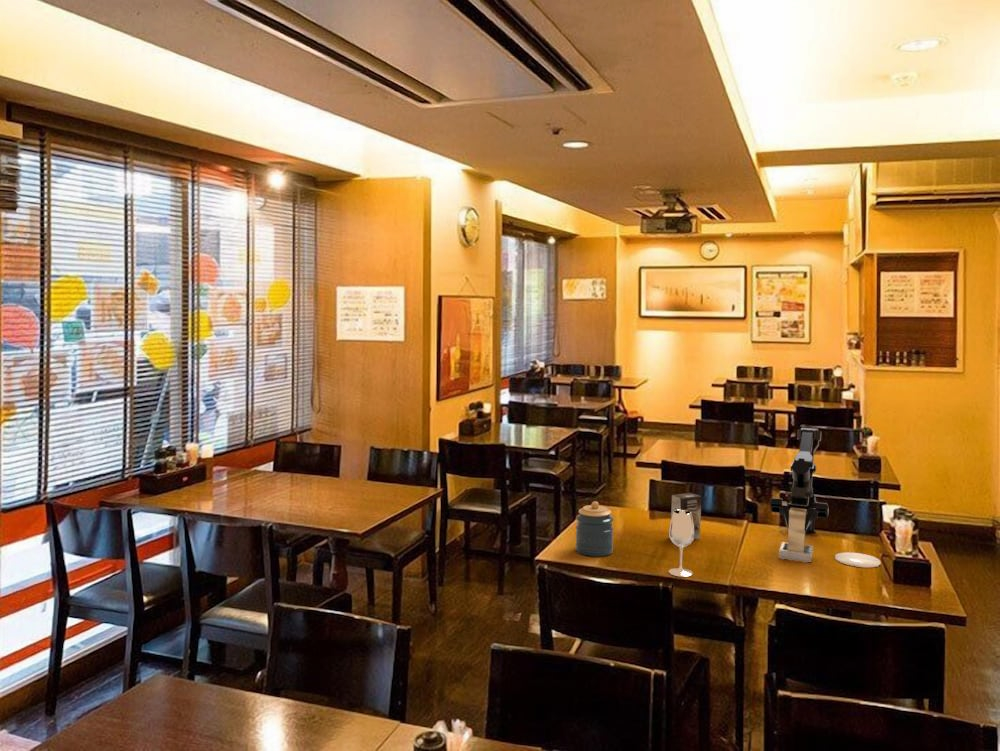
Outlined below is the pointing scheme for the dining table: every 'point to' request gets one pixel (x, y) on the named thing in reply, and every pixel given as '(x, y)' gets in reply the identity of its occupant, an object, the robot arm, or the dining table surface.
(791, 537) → the maple block
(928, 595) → the dining table surface
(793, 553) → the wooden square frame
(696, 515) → the coffee box
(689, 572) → the wineglass
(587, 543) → the canister
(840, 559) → the plate
